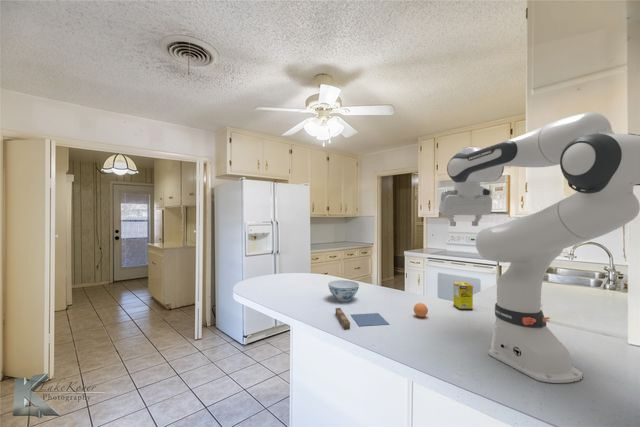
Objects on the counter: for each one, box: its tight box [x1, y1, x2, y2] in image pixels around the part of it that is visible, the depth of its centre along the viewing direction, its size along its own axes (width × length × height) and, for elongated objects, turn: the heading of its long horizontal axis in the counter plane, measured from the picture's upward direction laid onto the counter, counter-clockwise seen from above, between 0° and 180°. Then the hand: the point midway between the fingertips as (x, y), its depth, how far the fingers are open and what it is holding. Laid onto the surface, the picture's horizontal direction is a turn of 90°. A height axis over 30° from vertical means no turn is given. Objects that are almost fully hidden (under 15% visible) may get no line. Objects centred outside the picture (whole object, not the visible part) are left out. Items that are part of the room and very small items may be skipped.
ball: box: [413, 302, 429, 318], centre depth 118 cm, size 6×6×6 cm
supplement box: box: [453, 281, 474, 311], centre depth 129 cm, size 6×6×11 cm
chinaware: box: [328, 279, 360, 303], centre depth 141 cm, size 15×15×8 cm
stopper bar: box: [335, 307, 351, 330], centre depth 113 cm, size 16×2×2 cm, turn 9°
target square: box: [350, 312, 390, 327], centre depth 115 cm, size 12×12×1 cm
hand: (463, 226), depth 112 cm, fingers open, 8 cm apart
